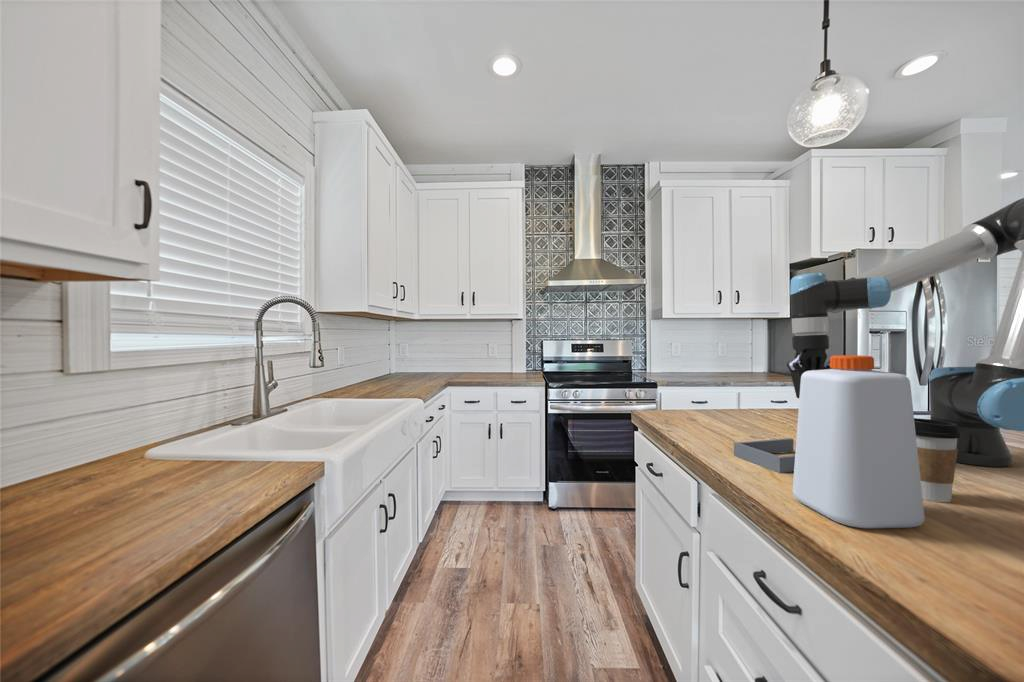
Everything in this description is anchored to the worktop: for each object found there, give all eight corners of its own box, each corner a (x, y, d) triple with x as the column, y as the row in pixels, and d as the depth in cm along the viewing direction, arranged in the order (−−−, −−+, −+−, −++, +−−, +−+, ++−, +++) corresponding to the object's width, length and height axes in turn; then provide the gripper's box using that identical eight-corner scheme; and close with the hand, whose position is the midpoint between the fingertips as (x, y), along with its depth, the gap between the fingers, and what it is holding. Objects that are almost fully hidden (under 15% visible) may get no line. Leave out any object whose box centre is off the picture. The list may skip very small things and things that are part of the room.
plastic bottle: (940, 530, 64) (938, 357, 64) (847, 532, 64) (846, 358, 63) (857, 493, 79) (855, 353, 79) (782, 495, 79) (780, 354, 79)
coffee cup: (887, 487, 82) (886, 415, 82) (933, 489, 81) (932, 415, 81) (923, 504, 74) (922, 424, 74) (975, 506, 72) (974, 424, 72)
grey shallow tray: (790, 450, 109) (790, 438, 109) (842, 466, 95) (842, 452, 95) (733, 455, 105) (733, 442, 105) (779, 473, 91) (779, 457, 91)
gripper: (816, 334, 107) (820, 421, 107) (776, 335, 104) (779, 425, 104) (845, 333, 99) (849, 427, 99) (802, 334, 97) (806, 431, 97)
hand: (813, 426), depth 102 cm, fingers closed
